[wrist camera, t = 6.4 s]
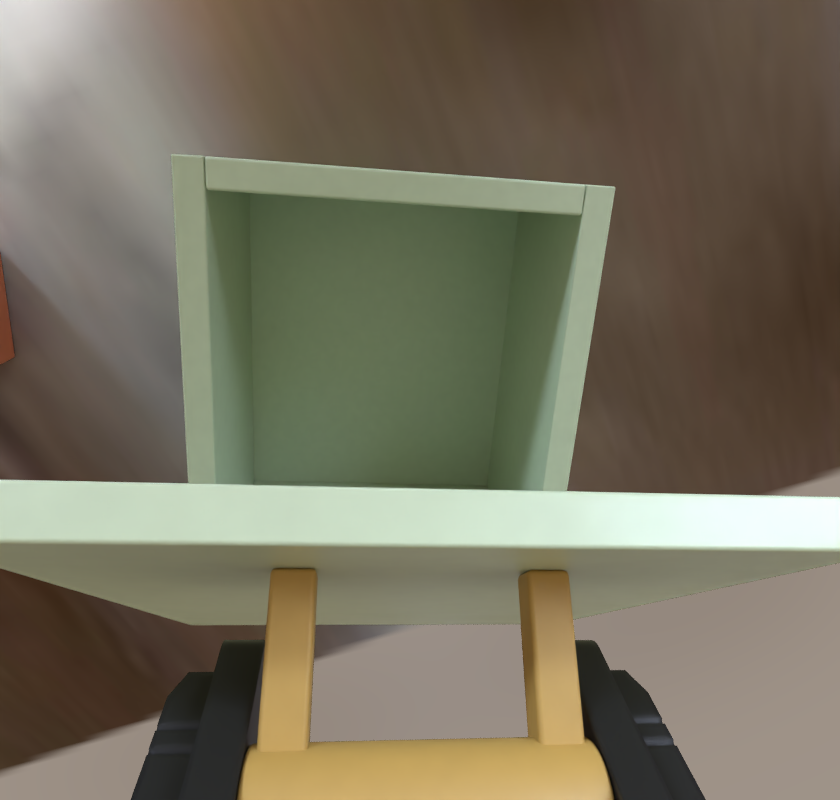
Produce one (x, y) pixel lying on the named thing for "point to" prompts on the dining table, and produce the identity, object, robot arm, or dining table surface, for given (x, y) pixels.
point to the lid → (406, 597)
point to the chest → (383, 324)
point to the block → (4, 324)
